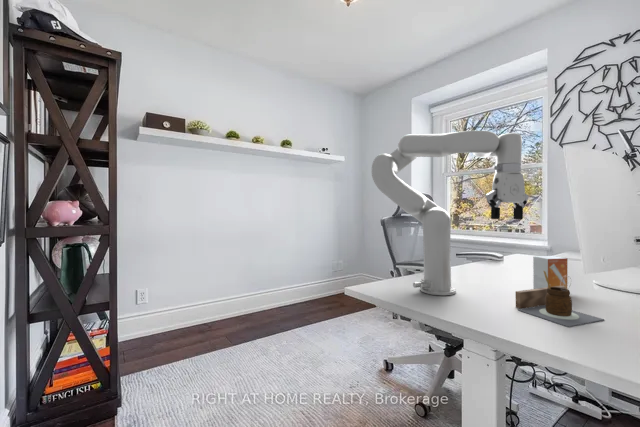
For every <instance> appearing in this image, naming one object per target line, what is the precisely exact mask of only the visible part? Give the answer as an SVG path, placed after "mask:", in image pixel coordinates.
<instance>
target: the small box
mask: <svg viewBox="0 0 640 427" xmlns="http://www.w3.org/2000/svg"><path fill="white" fill-rule="evenodd" d="M532 263H533V264H532V267H533V275H532V276H533V279H532V283H533V288H532V289H538V288H546V287H549V286H548V283H547V281H546V278H545V275H544V271H545V272H546V275H547V278H548V280H549V285H550V287H554V286H560V283H561V286H567V285H568V283H567V282H568V269H569V268H568V258H567V257H563V256H557V255H556V256H555V255H539V256H533V261H532ZM563 276H564V277H563ZM562 277H563V278H562ZM565 277H566V278H565ZM561 280H562V281H561ZM563 281H565V282H563ZM566 289H568V286H567V287H566Z"/></svg>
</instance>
